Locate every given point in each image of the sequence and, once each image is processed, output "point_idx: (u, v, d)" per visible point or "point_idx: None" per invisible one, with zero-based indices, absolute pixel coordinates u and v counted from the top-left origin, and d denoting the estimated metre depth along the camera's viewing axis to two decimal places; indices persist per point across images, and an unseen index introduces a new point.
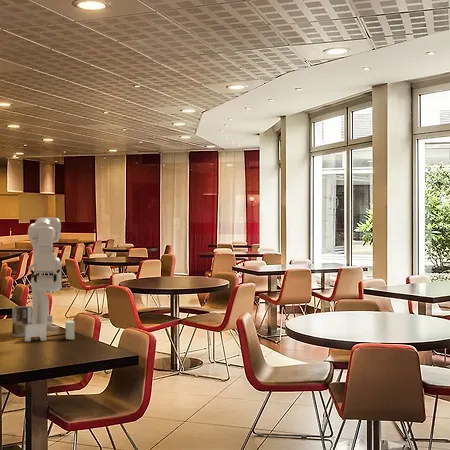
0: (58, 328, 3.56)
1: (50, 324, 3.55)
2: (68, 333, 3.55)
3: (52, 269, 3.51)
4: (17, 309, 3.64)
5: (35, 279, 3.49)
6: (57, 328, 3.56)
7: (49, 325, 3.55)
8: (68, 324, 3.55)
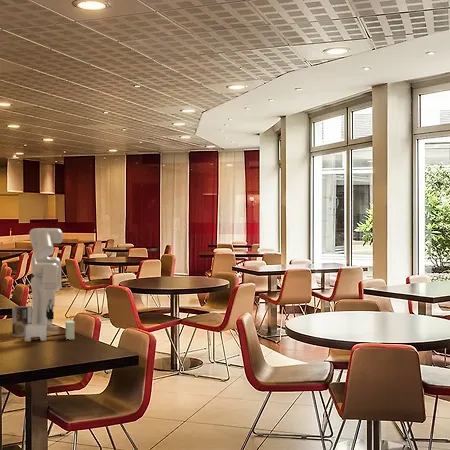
0: (58, 328, 3.56)
1: (50, 324, 3.55)
2: (68, 333, 3.55)
3: None
4: (17, 309, 3.64)
5: (52, 316, 3.51)
6: (57, 328, 3.56)
7: (49, 325, 3.55)
8: (68, 324, 3.55)
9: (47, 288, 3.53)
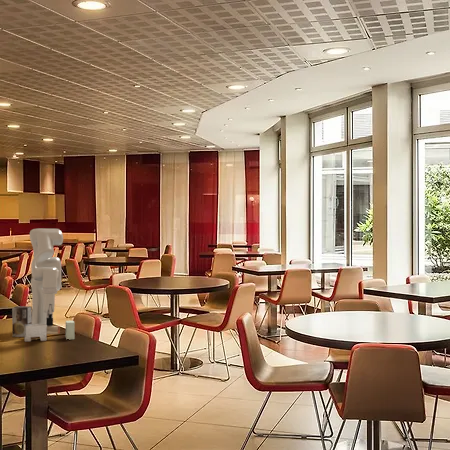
0: (58, 328, 3.56)
1: None
2: (68, 333, 3.55)
3: None
4: (17, 309, 3.64)
5: (52, 322, 3.55)
6: (57, 328, 3.56)
7: None
8: (68, 324, 3.55)
9: (47, 293, 3.53)
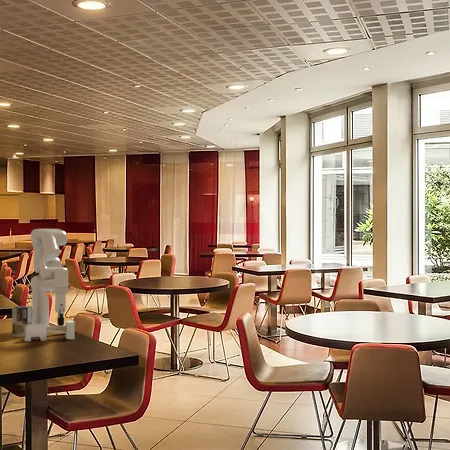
0: None
1: None
2: (68, 333, 3.55)
3: None
4: (17, 309, 3.64)
5: (63, 322, 3.57)
6: None
7: (60, 325, 3.57)
8: (68, 324, 3.55)
9: (58, 292, 3.55)
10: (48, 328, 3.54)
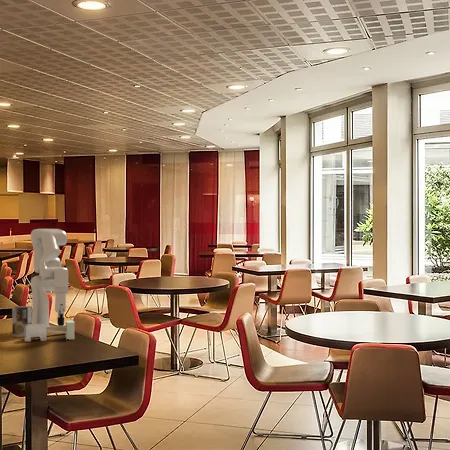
0: None
1: None
2: (68, 333, 3.55)
3: None
4: (17, 309, 3.64)
5: (63, 322, 3.57)
6: None
7: (60, 325, 3.57)
8: (68, 324, 3.55)
9: (58, 292, 3.55)
10: (48, 328, 3.54)
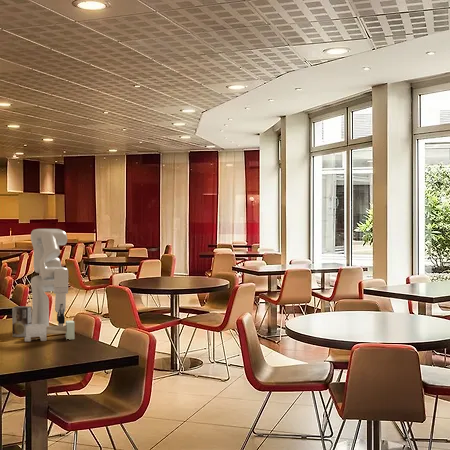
0: None
1: (61, 324, 3.57)
2: (68, 333, 3.55)
3: None
4: (17, 309, 3.64)
5: (63, 320, 3.54)
6: None
7: (60, 325, 3.57)
8: (68, 324, 3.55)
9: (58, 292, 3.55)
10: (48, 328, 3.54)
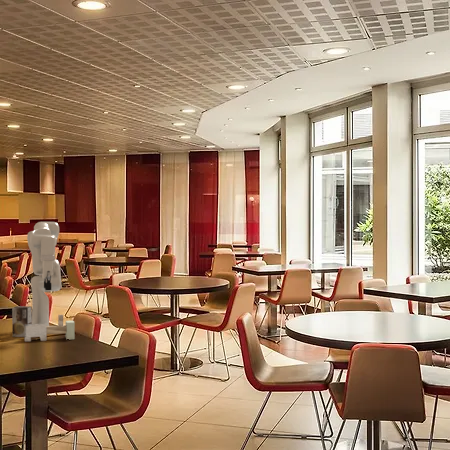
0: None
1: (61, 324, 3.57)
2: (68, 333, 3.55)
3: None
4: (17, 309, 3.64)
5: (50, 287, 3.60)
6: None
7: (60, 325, 3.57)
8: (68, 324, 3.55)
9: (45, 260, 3.61)
10: (48, 328, 3.54)
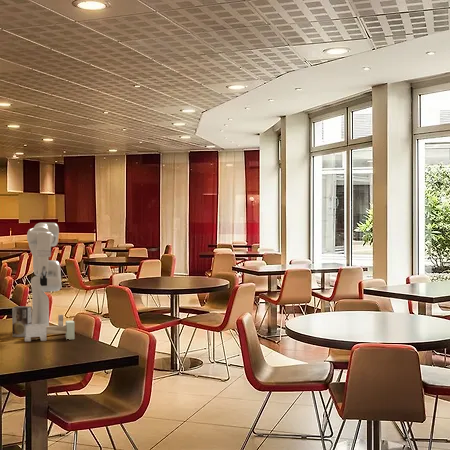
0: None
1: (61, 324, 3.57)
2: (68, 333, 3.55)
3: None
4: (17, 309, 3.64)
5: (46, 282, 3.62)
6: None
7: (60, 325, 3.57)
8: (68, 324, 3.55)
9: (41, 255, 3.62)
10: (48, 328, 3.54)
